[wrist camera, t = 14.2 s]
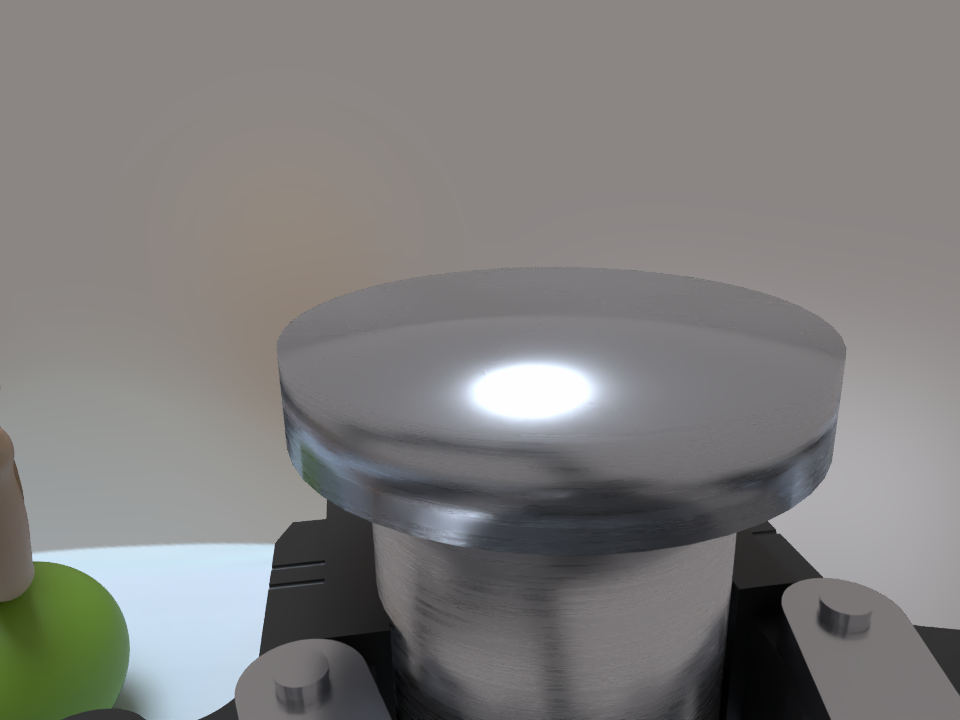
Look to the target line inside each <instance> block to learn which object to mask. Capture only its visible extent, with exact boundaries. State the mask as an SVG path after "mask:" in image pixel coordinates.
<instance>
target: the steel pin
mask: <svg viewBox="0 0 960 720" xmlns="http://www.w3.org/2000/svg"><path fill="white" fill-rule="evenodd" d="M277 359H278V368H279V378H280V387H281V396H282V406H283V415H284V425H285V434H286V444H287V450H288V453H289V456H290V459H291V462H292V464H293V466H294V467H295V469H296V470H297V471H298V473H299V474H300V476H301V477H302V478H303V480H304V481H305V482H307V483H308V484H309V485H310V486H311V487H312V488H314V490H316V491H317V492H318V493H319V494H320V495H321V496H323V497H325V498H326V499H328V500H329V501H331V502H333V503H334V504H336V505H337V506H339V507H341V508H342V509H344V510H346V511H348V512H350V513H352V514H355V515H357V516H359V517H361V518H364V519H366V520H368V521H370V522H372V529H373V543H374V557H375V570H376V583H377V589H378V594H379V597H380V600H381V602H382V604H383V607H384V609H385V611H386V612H387V614H388V615H389V621H390V632H391V647H392V662H393V677H394V692H395V707H396V720H719V712H720V702H721V691H722V681H723V670H724V660H725V649H726V639H727V628H728V618H729V607H730V596H731V586H732V575H733V565H734V554H735V544H736V533H737V532H739V531H742V530H745V529H748V528H751V527H753V526H756V525H759V524H762V523H764V522H766V521H768V520H770V519H772V518H774V517H776V516H778V515H780V514H782V513H784V512H786V511H788V510H789V509H791V508H793V507H794V506H795V505H797V504H798V503H799V502H801V501H802V500H803V499H805V498H806V497H807V496H809V495H810V494H811V493H812V492H813V491H814V490H815V488H816V487H817V486H818V485H819V484H820V483H821V482H822V481H823V479H824V478H825V476H826V474H827V472H828V469H829V467H830V465H831V462H832V456H833V449H834V442H835V434H836V426H837V419H838V411H839V404H840V397H841V388H842V381H843V374H844V366H845V359H846V346H845V344H844V342H843V339H842V337H841V336H840V334H839V333H838V332H837V331H836V330H835V329H834V328H833V327H832V326H831V325H830V324H829V323H827V322H826V321H824V320H823V319H822V318H820V317H819V316H817V315H815V314H813V313H812V312H810V311H808V310H806V309H804V308H802V307H800V306H797V305H795V304H792V303H790V302H788V301H785V300H782V299H780V298H776V297H774V296H771V295H767V294H764V293H761V292H758V291H754V290H750V289H746V288H742V287H739V286H734V285H730V284H725V283H720V282H715V281H710V280H704V279H698V278H693V277H686V276H679V275H671V274H663V273H655V272H644V271H635V270H619V269H605V268H582V267H580V268H579V267H531V268H530V267H527V268H502V269H488V270H474V271H465V272H454V273H446V274H439V275H430V276H423V277H417V278H411V279H406V280H400V281H395V282H391V283H386V284H381V285H377V286H373V287H369V288H366V289H362V290H358V291H355V292H351V293H349V294H345V295H342V296H339V297H336V298H334V299H332V300H329V301H327V302H324V303H322V304H319V305H318V306H315V307H314V308H312V309H310V310H308V311H306V312H304V313H303V314H301V315H300V316H298V317H297V318H296V319H294V320H293V321H291V322H290V324H289V325H288V326H287V327H286V328H285V329H284V330H283V331H282V333H281V335H280V337H279V339H278V341H277Z"/></svg>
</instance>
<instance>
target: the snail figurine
mask: <svg viewBox="0 0 960 720" xmlns="http://www.w3.org/2000/svg"><path fill="white" fill-rule="evenodd" d="M129 652H130V646H129V635H128V630H127V625H126V622H125V619H124V616H123V614H122V612H121V610H120V608H119V606H118V604H117V603H116V601H115V600H114V598H113V597H112V595H111V594H110V593H109V592H108V591H107V590H106V589H105V588H104V587H103V586H102V585H101V584H100V583H99V582H97V581H96V580H95V579H93V578H92V577H90V576H89V575H87V574H85V573H83V572H81V571H79V570H77V569H74V568H71V567H69V566H65V565H61V564H57V563H50V562H33V561H32V551H31V543H30V532H29V524H28V519H27V513H26V509H25V505H24V497H23V491H22V486H21V482H20V478H19V475H18V470H17V467H16V464H15V461H14V447H13V443H12V441H11V439H10V437H9V435H8V434H7V433H6V432H5V431H4V430H3V429H2V428H1V427H0V720H61V719H64V718H66V717H69V716H72V715H75V714H78V713H82V712H86V711H91V710H96V709H111V708H112V707H113V705H114V703H115V701H116V700H117V697H118V695H119V693H120V691H121V689H122V686H123V683H124V680H125V677H126V673H127V669H128V663H129Z"/></svg>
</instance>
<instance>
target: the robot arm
mask: <svg viewBox="0 0 960 720" xmlns="http://www.w3.org/2000/svg"><path fill="white" fill-rule="evenodd" d="M269 588H270V589H269V590H268V597H267V604H266V611H265V618H264V625H263V632H262V639H261V646H260V653H259V658H257V659H256V660H255V661H253V662H252V663H251V664H250V665H249V666H248V667H247V668H246V669H245V671H244V672H243V674H242V675H241V677H240V678H239V680H238V683H237V685H236V689H235V698H234V699H233V700H232V701H230V702H229V703H228V704H226V705H225V706H223V707H222V708H220V709H219V710H217V711H215V712H213V713H211V714H210V715H208V716H206V717H203V718H201V719H199V720H396V707H395V692H394V677H393V662H392V647H391V632H390V621H389V615H388V614H387V612H386V611H385V609H384V607H383V604H382V602H381V600H380V597H379V594H378V589H377V583H376V570H375V557H374V543H373V529H372V522H370V521H368V520H366V519H364V518H361V517H359V516H357V515H355V514H352V513H350V512H348V511H346V510H344V509H342V508H341V507H339V506H337V505H336V504H334V503H333V502H331V501H329V500H328V499H327V519H322V520H312V521H302V522H293V523H292V524H291V525H290V526H289V528H288V529H287V530H286V531H285V532H284V534H283V535H282V536H281V537H280V538H279V539H278V541H277V542H276V543H275V548H274V555H273V562H272V570H271V576H270V583H269ZM61 720H146V719H144V718H143V717H141V716H140V715H138V714H136V713H133V712H131V711H127V710H122V709H96V710H91V711H86V712H82V713H78V714H75V715H72V716H69V717H66V718H64V719H61ZM719 720H960V630H956V629H946V628H935V627H925V626H916V625H912V623H911V622H910V620H909V619H908V617H907V616H906V614H905V613H904V612H903V611H902V609H901V608H900V607H899V606H897V604H895V603H894V602H893V601H892V600H890V599H889V598H887V597H886V596H884V595H882V594H881V593H879V592H877V591H875V590H873V589H870V588H868V587H866V586H863V585H860V584H857V583H853V582H849V581H844V580H839V579H831V578H823V577H822V576H821V575H820V574H819V573H818V572H817V571H816V570H815V569H814V568H813V567H812V566H811V565H810V564H809V563H808V562H807V561H806V560H805V559H804V558H803V557H802V556H801V555H800V554H799V553H798V552H797V551H796V549H794V547H793V546H791V545H790V543H789V542H787V540H786V539H785V538H784V537H783V536H782V535H781V534H777V533H776V529H775V528H774V527H773V526H772V525H771V524H770V523H769V522H768V521H766V522H764V523H762V524H759V525H756V526H753V527H751V528H748V529H745V530H742V531H739V532H737V533H736V544H735V554H734V565H733V575H732V586H731V596H730V607H729V618H728V628H727V639H726V649H725V660H724V670H723V681H722V691H721V702H720V712H719Z"/></svg>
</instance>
